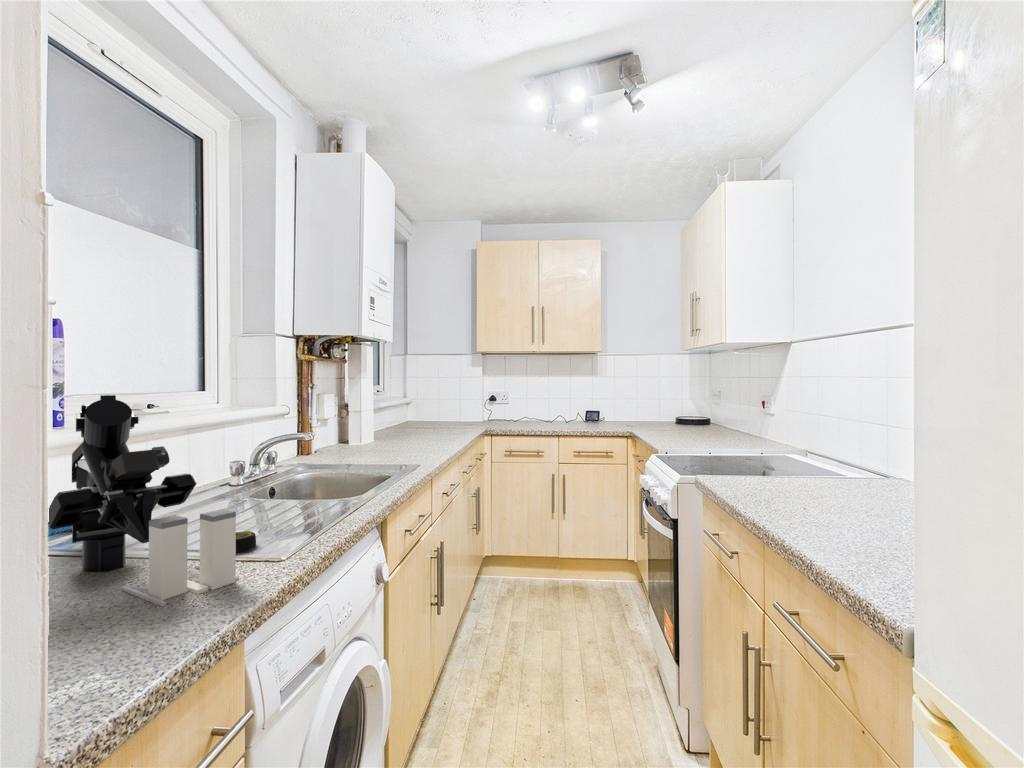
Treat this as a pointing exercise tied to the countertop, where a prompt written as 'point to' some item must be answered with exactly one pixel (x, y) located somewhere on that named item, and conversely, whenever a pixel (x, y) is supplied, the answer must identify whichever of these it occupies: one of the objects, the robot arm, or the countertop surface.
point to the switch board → (191, 587)
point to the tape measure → (245, 541)
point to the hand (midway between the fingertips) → (146, 541)
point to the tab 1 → (167, 557)
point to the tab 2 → (217, 548)
